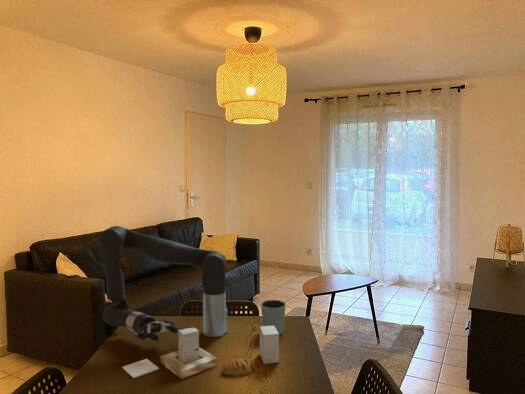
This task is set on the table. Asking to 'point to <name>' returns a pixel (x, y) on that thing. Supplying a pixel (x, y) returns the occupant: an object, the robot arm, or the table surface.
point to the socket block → (191, 368)
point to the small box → (269, 344)
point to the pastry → (237, 367)
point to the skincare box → (188, 345)
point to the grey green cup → (273, 314)
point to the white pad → (140, 368)
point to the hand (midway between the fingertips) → (167, 334)
